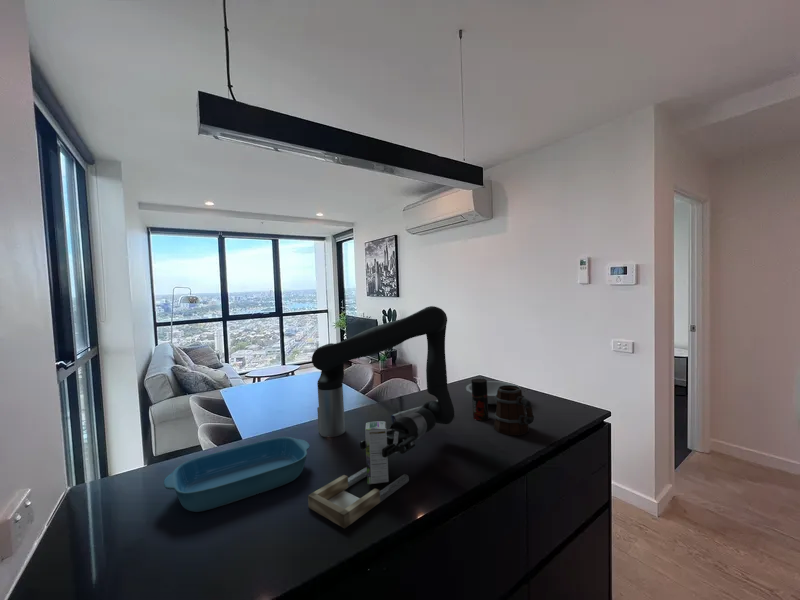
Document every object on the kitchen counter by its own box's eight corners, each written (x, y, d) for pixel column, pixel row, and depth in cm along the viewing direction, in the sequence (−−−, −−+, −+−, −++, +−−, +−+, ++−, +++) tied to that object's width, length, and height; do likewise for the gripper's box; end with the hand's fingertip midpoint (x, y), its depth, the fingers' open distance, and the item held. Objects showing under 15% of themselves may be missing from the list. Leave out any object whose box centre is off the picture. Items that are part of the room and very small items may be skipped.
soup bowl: (480, 414, 141) (479, 398, 141) (458, 397, 164) (458, 383, 164) (532, 407, 146) (532, 391, 146) (504, 392, 169) (504, 378, 169)
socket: (344, 485, 92) (343, 474, 92) (380, 502, 84) (379, 490, 84) (308, 507, 83) (308, 495, 83) (344, 528, 75) (343, 515, 75)
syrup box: (367, 473, 96) (364, 422, 95) (388, 471, 96) (385, 420, 96) (367, 484, 90) (364, 430, 90) (389, 482, 90) (386, 428, 90)
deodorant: (491, 417, 136) (489, 379, 136) (483, 421, 132) (482, 383, 132) (477, 414, 140) (476, 377, 140) (470, 418, 136) (468, 381, 136)
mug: (487, 428, 126) (485, 387, 126) (510, 420, 132) (508, 381, 132) (522, 442, 112) (520, 397, 112) (546, 433, 118) (544, 390, 118)
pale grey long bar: (389, 413, 137) (442, 394, 147) (392, 429, 137) (445, 409, 147) (394, 417, 132) (449, 397, 142) (397, 433, 132) (451, 412, 142)
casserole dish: (297, 450, 116) (296, 429, 116) (322, 477, 97) (321, 452, 97) (165, 490, 95) (163, 464, 95) (165, 534, 76) (163, 502, 76)
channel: (374, 467, 101) (373, 462, 101) (408, 481, 93) (408, 475, 93) (344, 485, 92) (344, 480, 92) (380, 502, 84) (379, 496, 84)
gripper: (390, 412, 108) (352, 430, 96) (427, 421, 99) (391, 442, 87) (391, 435, 109) (354, 456, 96) (429, 446, 99) (392, 471, 87)
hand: (371, 449), depth 91 cm, fingers closed on syrup box, 8 cm apart
